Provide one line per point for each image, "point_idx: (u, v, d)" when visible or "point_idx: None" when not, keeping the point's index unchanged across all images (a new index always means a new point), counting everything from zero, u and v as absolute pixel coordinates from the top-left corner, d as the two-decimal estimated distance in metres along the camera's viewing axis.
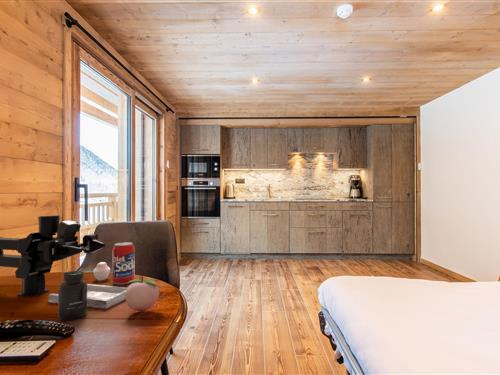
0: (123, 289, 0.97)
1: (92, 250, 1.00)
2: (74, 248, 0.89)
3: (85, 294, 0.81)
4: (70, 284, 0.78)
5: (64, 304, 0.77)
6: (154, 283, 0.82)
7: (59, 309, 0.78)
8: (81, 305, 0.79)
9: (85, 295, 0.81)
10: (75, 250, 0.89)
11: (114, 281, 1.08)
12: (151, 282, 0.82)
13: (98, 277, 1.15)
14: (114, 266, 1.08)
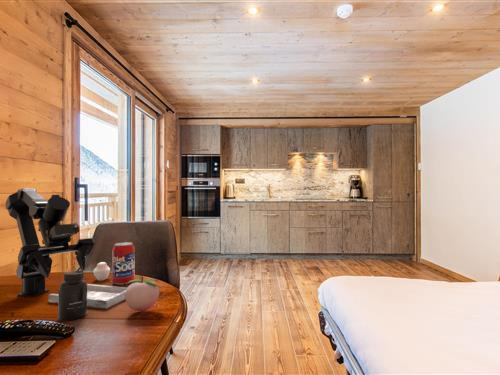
0: (123, 289, 0.97)
1: (77, 259, 0.91)
2: (43, 269, 0.80)
3: (85, 294, 0.81)
4: (70, 284, 0.78)
5: (64, 304, 0.77)
6: (154, 283, 0.82)
7: (59, 309, 0.78)
8: (81, 305, 0.79)
9: (85, 295, 0.81)
10: (43, 272, 0.80)
11: (114, 281, 1.08)
12: (151, 282, 0.82)
13: (98, 277, 1.15)
14: (114, 266, 1.08)
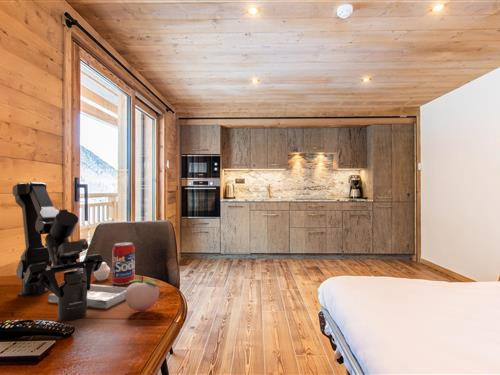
0: (123, 289, 0.97)
1: None
2: (55, 289, 0.77)
3: (85, 294, 0.81)
4: (70, 284, 0.78)
5: (64, 304, 0.77)
6: (154, 283, 0.82)
7: (59, 309, 0.78)
8: (81, 304, 0.79)
9: (85, 295, 0.81)
10: (55, 291, 0.77)
11: (114, 281, 1.08)
12: (151, 282, 0.82)
13: (98, 277, 1.15)
14: (114, 266, 1.08)
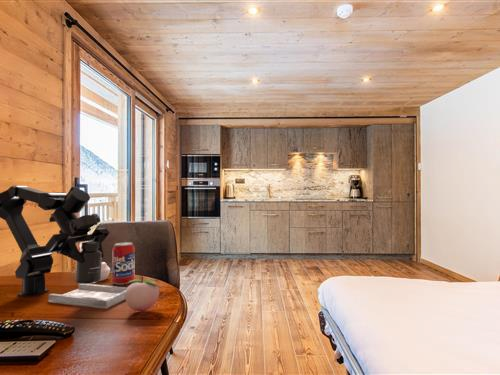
0: (123, 289, 0.97)
1: None
2: (78, 256, 0.87)
3: (101, 261, 0.92)
4: (90, 251, 0.89)
5: (85, 268, 0.88)
6: (154, 283, 0.82)
7: (79, 274, 0.88)
8: (99, 270, 0.91)
9: (101, 262, 0.92)
10: (77, 258, 0.87)
11: (114, 281, 1.08)
12: (151, 282, 0.82)
13: None
14: (114, 266, 1.08)
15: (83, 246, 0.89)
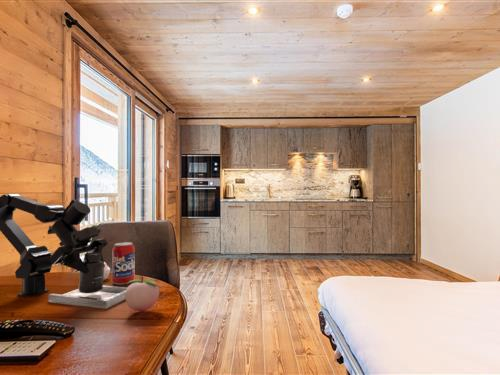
0: (123, 289, 0.97)
1: None
2: (83, 266, 0.91)
3: (103, 271, 0.96)
4: (93, 262, 0.93)
5: (90, 278, 0.91)
6: (154, 283, 0.82)
7: (83, 284, 0.91)
8: (102, 279, 0.95)
9: (103, 272, 0.96)
10: (82, 268, 0.91)
11: (114, 281, 1.08)
12: (151, 282, 0.82)
13: None
14: (114, 266, 1.08)
15: (86, 257, 0.93)
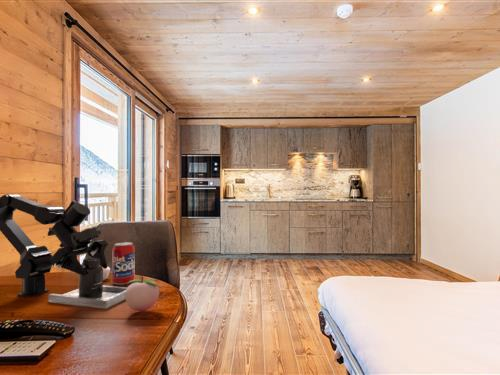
0: (123, 289, 0.97)
1: None
2: (80, 269, 0.90)
3: (102, 276, 0.96)
4: (92, 268, 0.93)
5: (89, 284, 0.91)
6: (154, 283, 0.82)
7: (83, 290, 0.91)
8: (101, 285, 0.94)
9: (102, 277, 0.96)
10: (79, 271, 0.90)
11: (114, 281, 1.08)
12: (151, 282, 0.82)
13: None
14: (114, 266, 1.08)
15: (85, 263, 0.92)
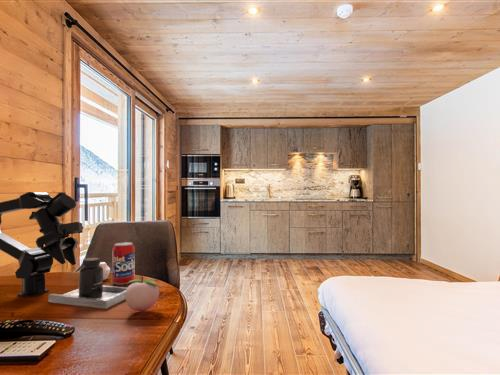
0: (123, 289, 0.97)
1: (62, 254, 1.02)
2: (62, 256, 0.93)
3: (102, 276, 0.96)
4: (92, 268, 0.93)
5: (89, 284, 0.91)
6: (154, 283, 0.82)
7: (83, 290, 0.91)
8: (101, 285, 0.94)
9: (102, 277, 0.96)
10: (60, 258, 0.93)
11: (114, 281, 1.08)
12: (151, 282, 0.82)
13: None
14: (114, 266, 1.08)
15: (85, 263, 0.92)
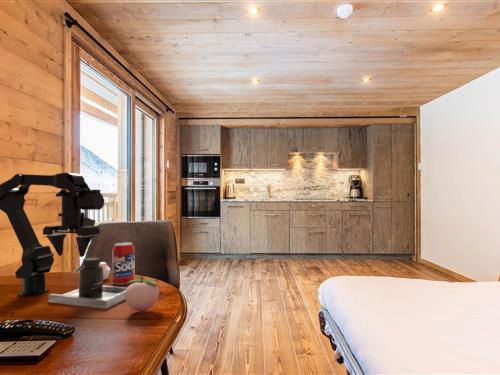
0: (123, 289, 0.97)
1: (54, 240, 0.98)
2: (85, 250, 0.98)
3: (102, 276, 0.96)
4: (92, 268, 0.93)
5: (89, 284, 0.91)
6: (154, 283, 0.82)
7: (83, 290, 0.91)
8: (101, 285, 0.94)
9: (102, 277, 0.96)
10: (83, 251, 0.97)
11: (114, 281, 1.08)
12: (151, 282, 0.82)
13: None
14: (114, 266, 1.08)
15: (85, 263, 0.92)
